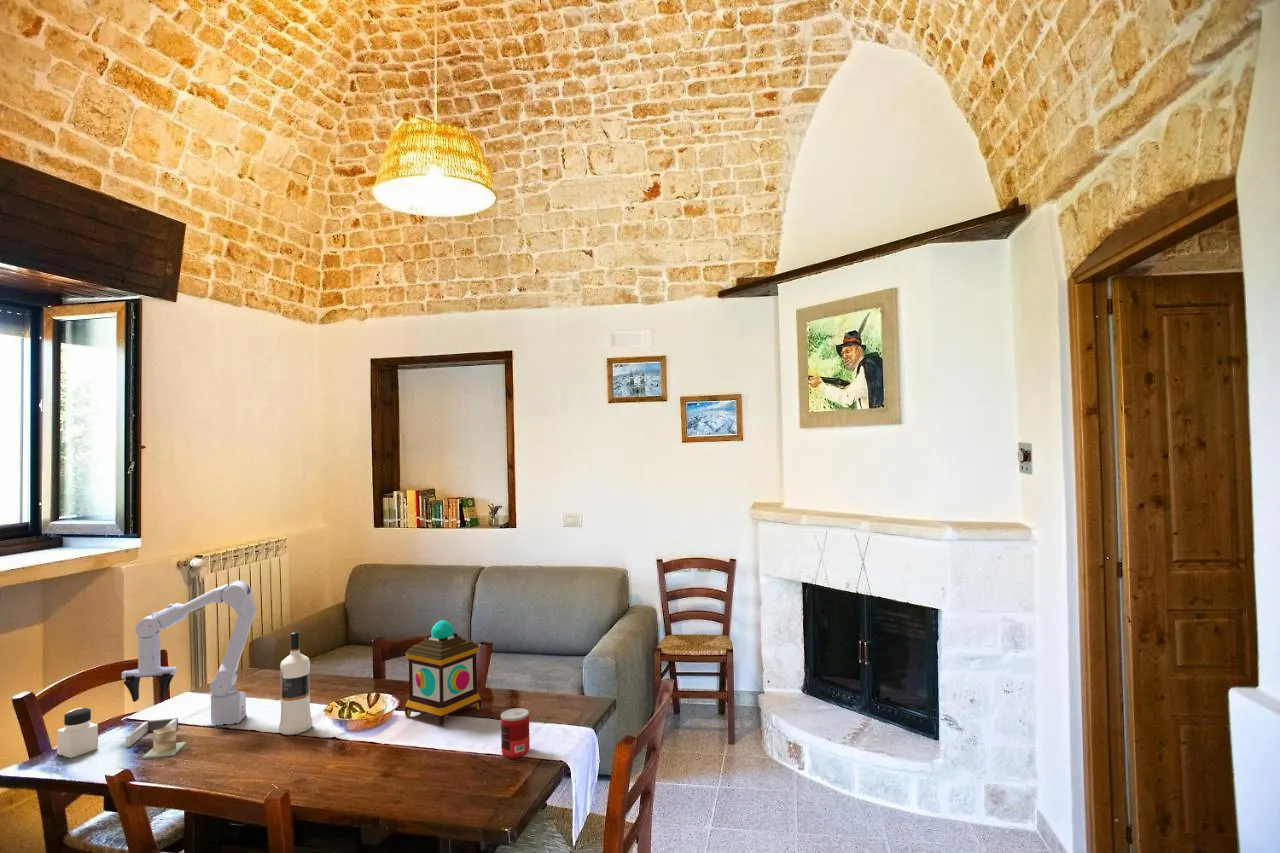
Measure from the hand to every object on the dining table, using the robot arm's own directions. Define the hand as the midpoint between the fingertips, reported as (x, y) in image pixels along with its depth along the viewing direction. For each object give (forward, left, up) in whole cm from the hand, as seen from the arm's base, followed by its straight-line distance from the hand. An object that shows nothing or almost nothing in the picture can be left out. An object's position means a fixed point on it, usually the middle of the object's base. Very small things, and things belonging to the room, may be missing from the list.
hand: (149, 699), depth 217 cm
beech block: (-11, +17, -9) cm, 23 cm away
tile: (-12, +18, -10) cm, 23 cm away
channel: (-3, +6, -10) cm, 12 cm away
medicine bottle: (+14, +11, -10) cm, 20 cm away
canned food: (-111, +45, -10) cm, 120 cm away
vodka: (-45, +11, -10) cm, 47 cm away
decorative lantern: (-89, +9, -10) cm, 90 cm away
